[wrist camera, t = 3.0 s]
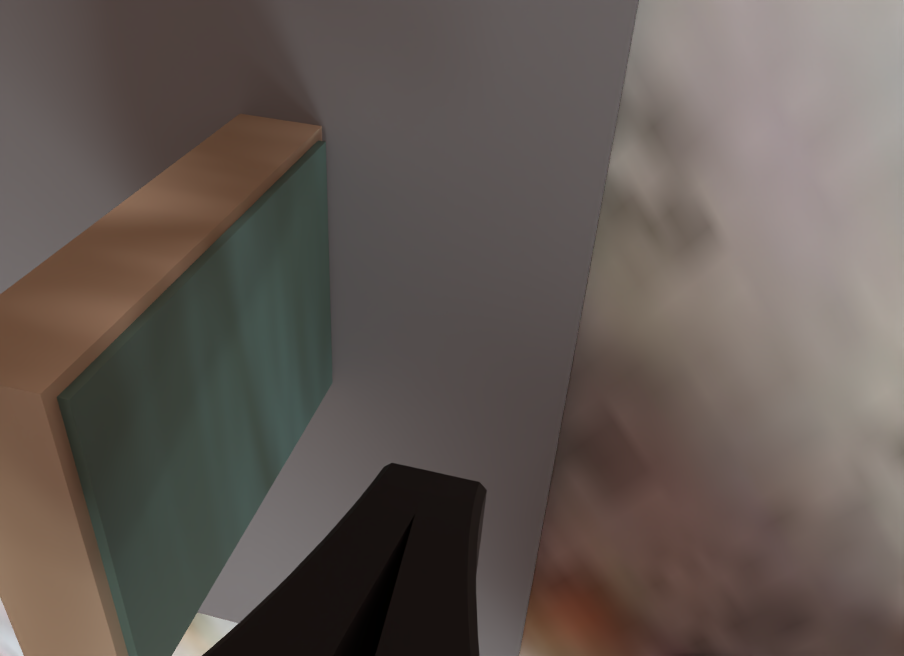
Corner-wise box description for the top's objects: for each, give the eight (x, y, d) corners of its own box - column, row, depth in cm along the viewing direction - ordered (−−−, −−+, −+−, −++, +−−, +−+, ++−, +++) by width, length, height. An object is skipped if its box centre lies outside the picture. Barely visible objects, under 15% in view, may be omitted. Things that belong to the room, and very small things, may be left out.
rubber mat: (686, -257, 11) (685, -260, 11) (514, 678, 24) (511, 694, 23) (-390, -332, 14) (-422, -335, 14) (-33, 538, 27) (-43, 549, 26)
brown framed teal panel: (329, 127, 15) (52, 397, 8) (336, 384, 18) (143, 715, 12) (239, 113, 15) (-93, 364, 9) (262, 369, 19) (35, 684, 12)
